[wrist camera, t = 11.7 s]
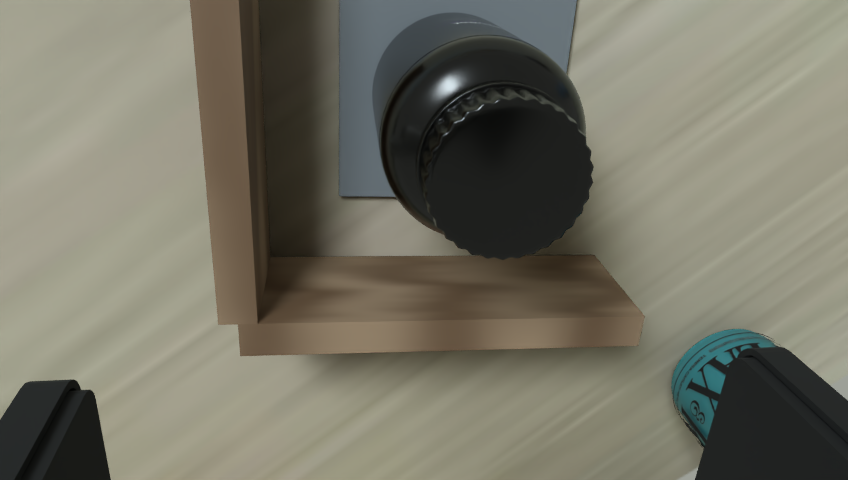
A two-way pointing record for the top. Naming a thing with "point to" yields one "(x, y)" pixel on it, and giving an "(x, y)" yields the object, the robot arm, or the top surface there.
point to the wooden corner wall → (368, 275)
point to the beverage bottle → (708, 375)
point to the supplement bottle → (481, 135)
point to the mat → (375, 29)
